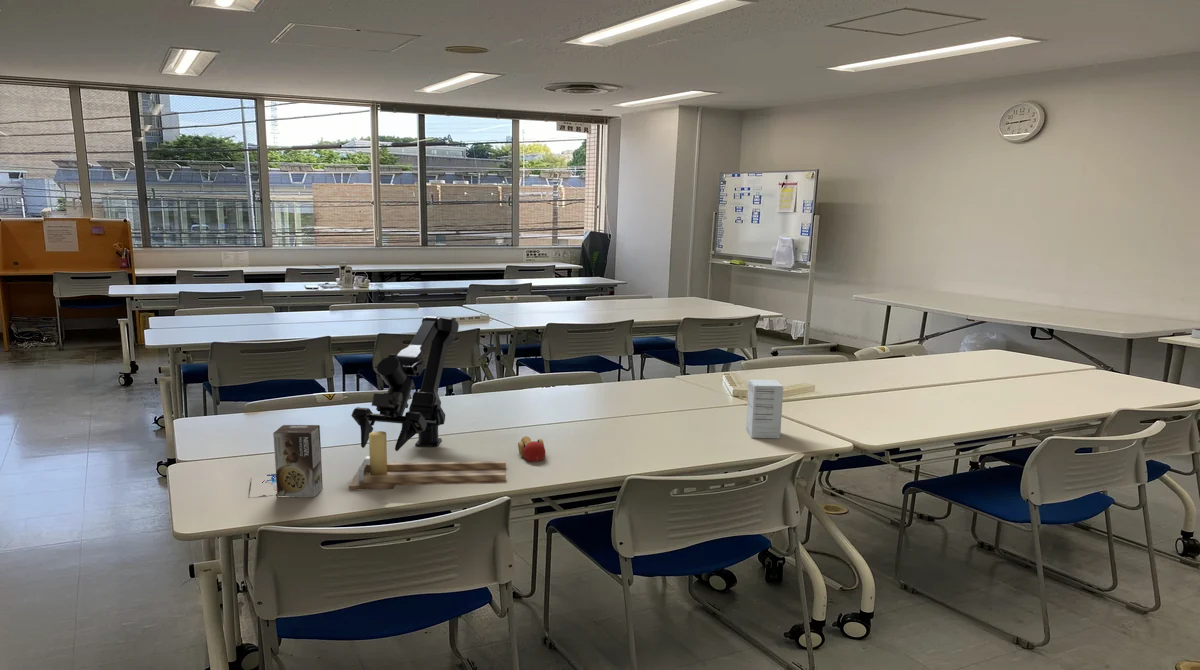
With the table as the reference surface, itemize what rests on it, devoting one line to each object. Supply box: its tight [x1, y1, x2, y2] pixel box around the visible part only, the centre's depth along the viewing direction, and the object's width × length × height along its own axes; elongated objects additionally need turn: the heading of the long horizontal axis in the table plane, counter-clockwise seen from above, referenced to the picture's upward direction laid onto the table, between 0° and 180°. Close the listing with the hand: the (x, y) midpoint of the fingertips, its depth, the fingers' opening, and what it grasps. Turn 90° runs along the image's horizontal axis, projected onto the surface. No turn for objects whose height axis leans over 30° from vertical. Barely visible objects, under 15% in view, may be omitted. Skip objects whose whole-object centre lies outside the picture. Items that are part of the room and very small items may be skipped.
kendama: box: [517, 435, 546, 463], centre depth 212 cm, size 8×6×18 cm
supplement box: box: [745, 379, 784, 440], centre depth 237 cm, size 10×9×17 cm
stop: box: [358, 455, 370, 483], centre depth 191 cm, size 1×10×4 cm, turn 7°
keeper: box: [368, 430, 388, 475], centre depth 190 cm, size 4×4×11 cm
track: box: [348, 460, 507, 491], centre depth 193 cm, size 38×14×2 cm, turn 97°
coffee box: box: [272, 424, 324, 498], centre depth 180 cm, size 9×6×16 cm
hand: (379, 448), depth 191 cm, fingers open, 9 cm apart
